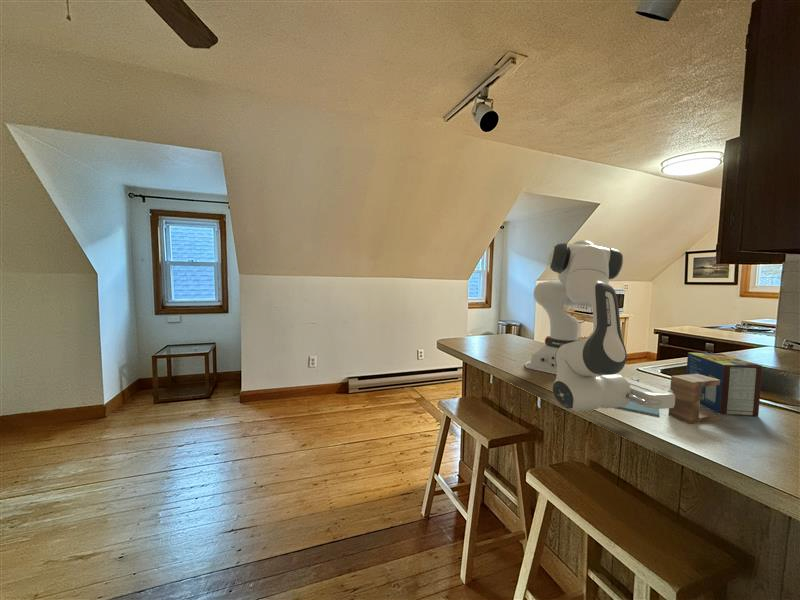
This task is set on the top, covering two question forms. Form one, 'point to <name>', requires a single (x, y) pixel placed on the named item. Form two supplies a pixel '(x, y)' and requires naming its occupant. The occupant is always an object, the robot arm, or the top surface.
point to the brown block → (690, 398)
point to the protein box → (728, 383)
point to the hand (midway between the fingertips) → (652, 386)
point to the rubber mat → (640, 409)
